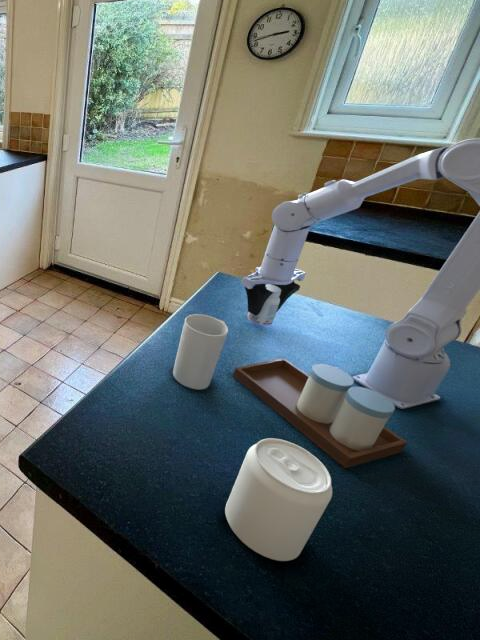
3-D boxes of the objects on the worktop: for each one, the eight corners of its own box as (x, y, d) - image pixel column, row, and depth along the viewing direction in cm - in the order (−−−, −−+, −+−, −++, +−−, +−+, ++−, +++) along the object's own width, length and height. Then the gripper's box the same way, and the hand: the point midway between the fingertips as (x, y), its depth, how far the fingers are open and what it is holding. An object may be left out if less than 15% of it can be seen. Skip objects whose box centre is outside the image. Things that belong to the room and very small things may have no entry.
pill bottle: (269, 317, 94) (281, 285, 91) (273, 328, 90) (286, 295, 87) (245, 312, 96) (255, 280, 92) (248, 323, 92) (259, 290, 88)
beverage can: (271, 576, 47) (308, 509, 42) (209, 513, 54) (234, 448, 49) (315, 546, 50) (353, 480, 45) (250, 489, 57) (278, 426, 52)
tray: (280, 366, 80) (283, 357, 79) (401, 452, 62) (408, 442, 62) (232, 376, 78) (235, 367, 77) (345, 468, 60) (350, 458, 59)
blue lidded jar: (345, 421, 67) (365, 383, 64) (381, 448, 62) (404, 408, 59) (320, 428, 66) (339, 389, 62) (355, 455, 61) (377, 415, 58)
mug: (195, 395, 73) (212, 340, 68) (163, 373, 79) (176, 320, 73) (230, 377, 77) (248, 324, 72) (197, 357, 83) (212, 306, 78)
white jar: (311, 397, 72) (328, 361, 68) (343, 420, 67) (362, 382, 64) (288, 403, 71) (304, 366, 67) (318, 426, 66) (337, 388, 63)
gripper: (291, 245, 91) (272, 298, 97) (237, 252, 88) (221, 306, 94) (323, 258, 85) (301, 314, 91) (266, 266, 82) (247, 323, 88)
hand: (262, 311), depth 92 cm, fingers closed on pill bottle, 5 cm apart
